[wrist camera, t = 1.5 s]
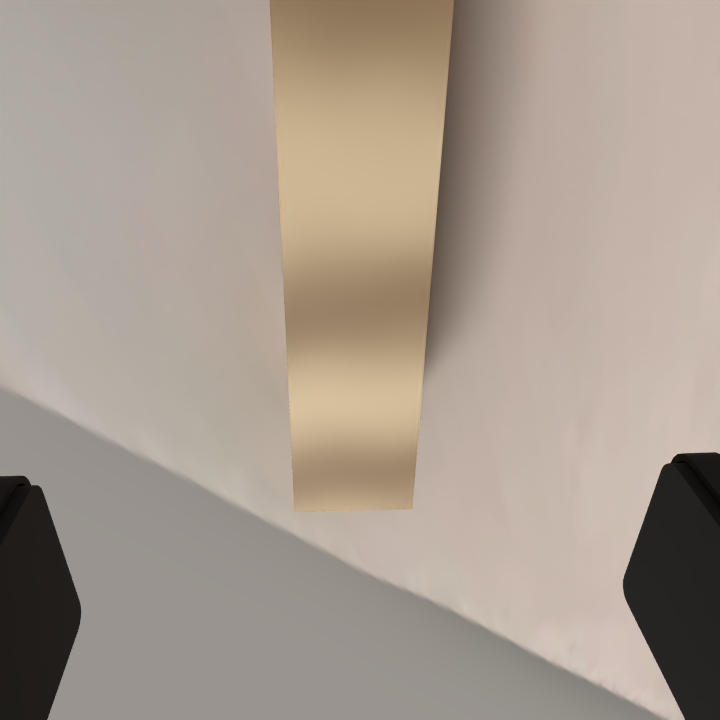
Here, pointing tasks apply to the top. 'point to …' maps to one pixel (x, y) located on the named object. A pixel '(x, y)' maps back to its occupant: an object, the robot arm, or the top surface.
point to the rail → (357, 236)
